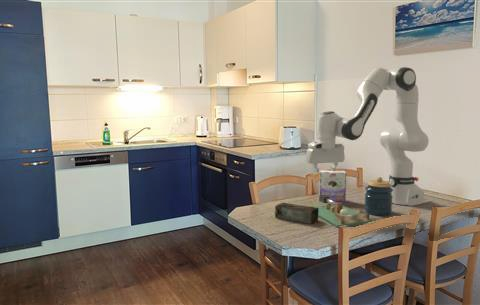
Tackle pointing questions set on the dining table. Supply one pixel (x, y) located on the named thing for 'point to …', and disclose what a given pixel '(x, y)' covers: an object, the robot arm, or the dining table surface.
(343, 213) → the ball
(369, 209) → the canister
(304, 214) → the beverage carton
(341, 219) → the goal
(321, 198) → the rod
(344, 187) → the candy box
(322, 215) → the pitch
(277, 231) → the dining table surface
